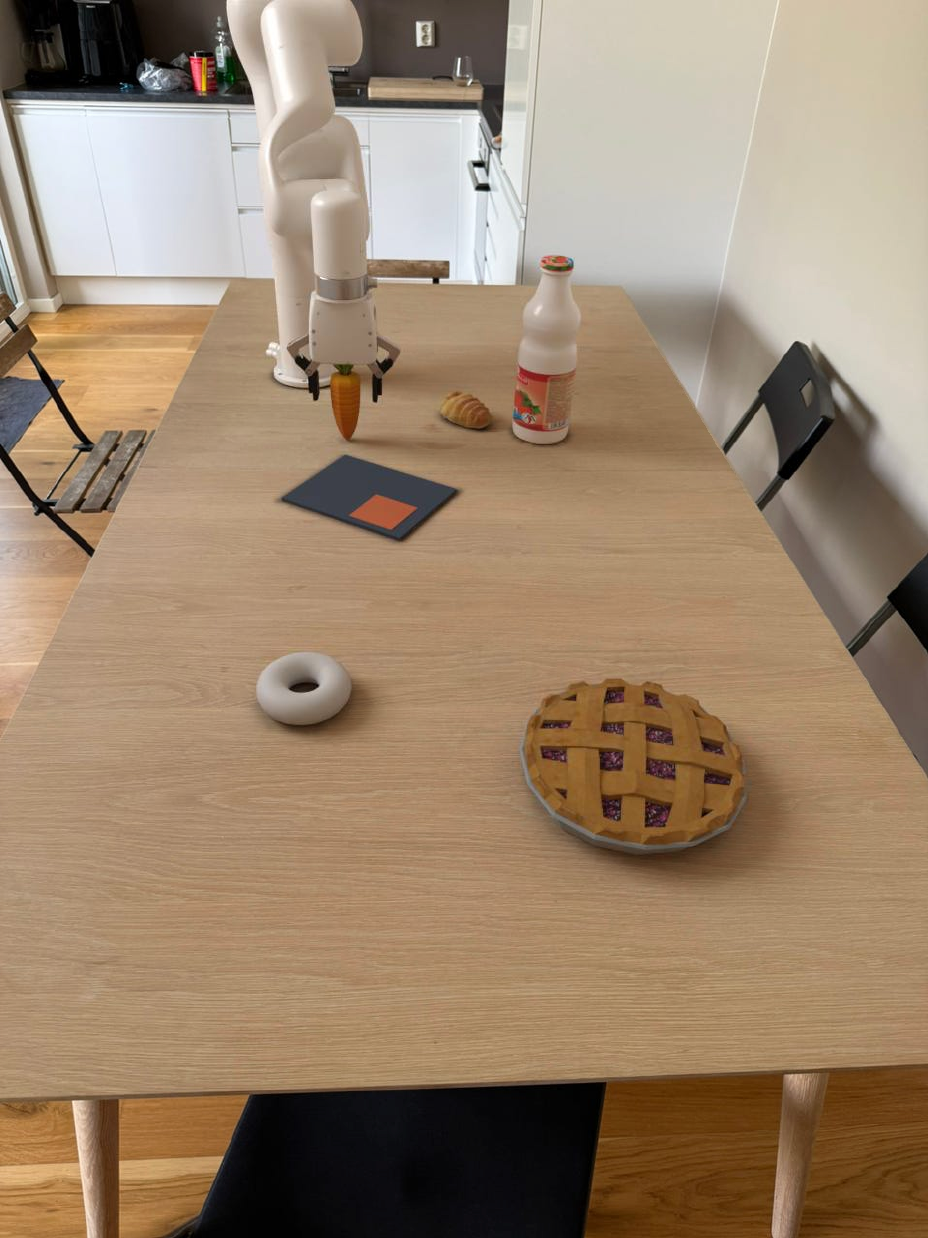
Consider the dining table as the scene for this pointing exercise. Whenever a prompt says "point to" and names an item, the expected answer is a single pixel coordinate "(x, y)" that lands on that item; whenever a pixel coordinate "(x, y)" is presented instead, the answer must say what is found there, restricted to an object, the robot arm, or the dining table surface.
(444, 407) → the pastry
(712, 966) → the dining table surface
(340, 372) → the carrot
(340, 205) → the robot arm
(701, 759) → the pie
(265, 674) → the donut
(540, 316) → the fruit juice
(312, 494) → the mat
